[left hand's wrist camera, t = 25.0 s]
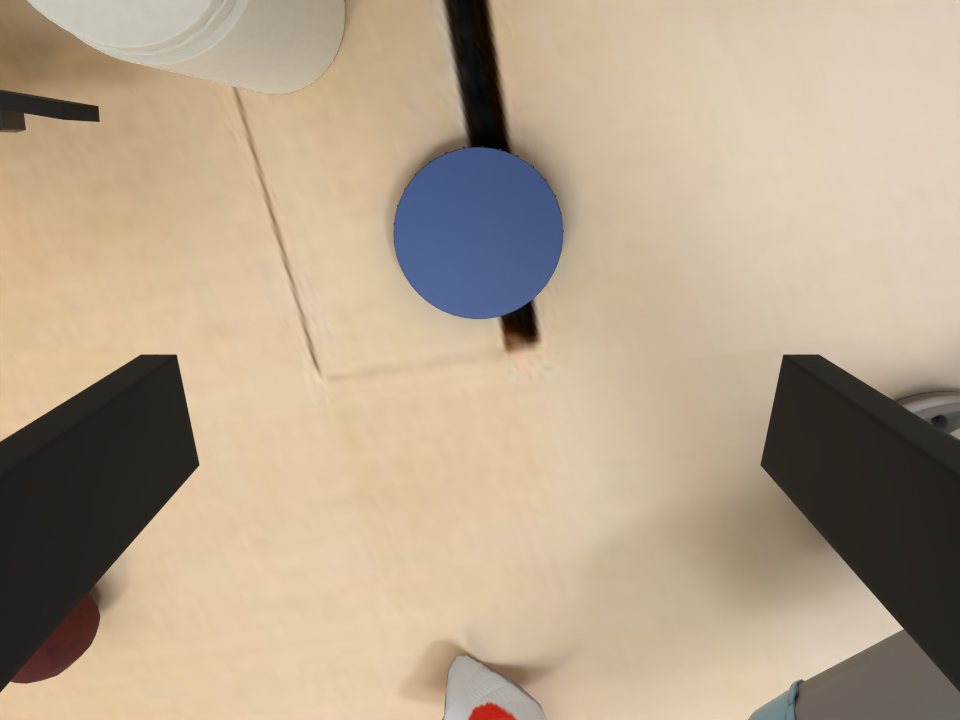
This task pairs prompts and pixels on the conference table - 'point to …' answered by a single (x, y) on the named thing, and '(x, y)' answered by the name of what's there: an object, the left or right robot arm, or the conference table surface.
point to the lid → (478, 232)
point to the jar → (212, 37)
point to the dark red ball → (63, 644)
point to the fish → (485, 694)
